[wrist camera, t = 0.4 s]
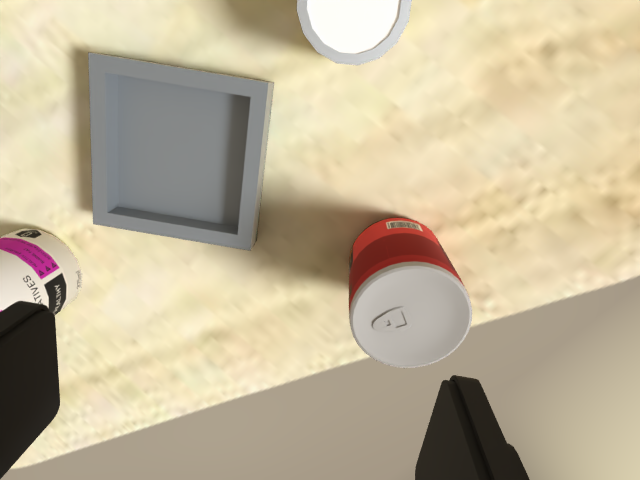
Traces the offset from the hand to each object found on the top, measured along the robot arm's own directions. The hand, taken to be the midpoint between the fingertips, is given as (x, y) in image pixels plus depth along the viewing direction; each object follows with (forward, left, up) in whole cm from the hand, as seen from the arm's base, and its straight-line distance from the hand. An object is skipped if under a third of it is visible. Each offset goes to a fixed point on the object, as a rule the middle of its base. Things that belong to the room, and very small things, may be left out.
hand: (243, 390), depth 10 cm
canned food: (+6, +8, -28) cm, 30 cm away
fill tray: (0, -11, -28) cm, 30 cm away
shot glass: (-12, +1, -28) cm, 30 cm away
